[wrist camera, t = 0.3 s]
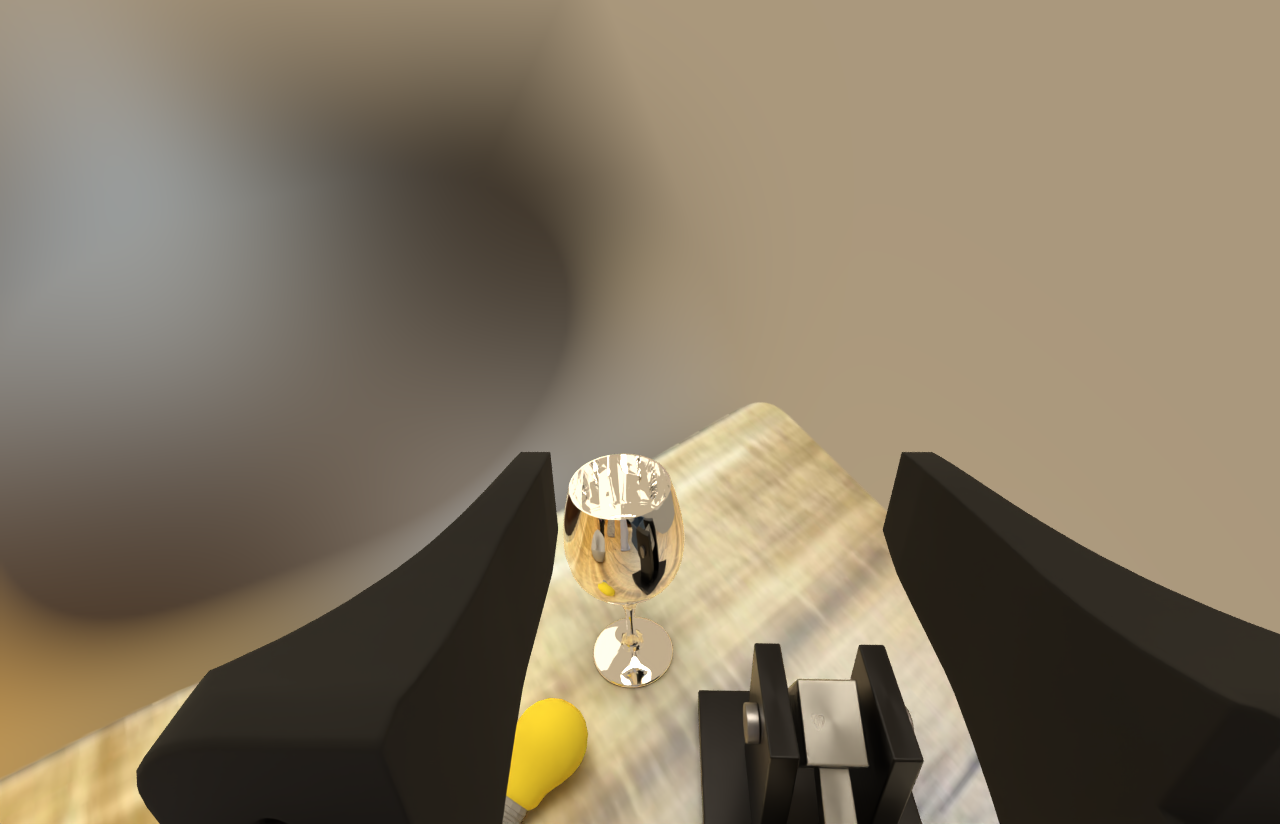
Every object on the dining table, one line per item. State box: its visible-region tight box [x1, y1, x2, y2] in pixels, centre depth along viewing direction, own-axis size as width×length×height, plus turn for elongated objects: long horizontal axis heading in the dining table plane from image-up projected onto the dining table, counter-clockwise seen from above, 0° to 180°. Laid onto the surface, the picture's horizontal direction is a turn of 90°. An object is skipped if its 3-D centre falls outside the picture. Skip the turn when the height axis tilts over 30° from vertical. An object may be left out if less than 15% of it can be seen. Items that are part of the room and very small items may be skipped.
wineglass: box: [563, 454, 684, 688], centre depth 30 cm, size 6×6×12 cm
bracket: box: [698, 643, 924, 824], centre depth 24 cm, size 10×9×9 cm
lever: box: [788, 679, 870, 824], centre depth 21 cm, size 8×3×3 cm, turn 178°
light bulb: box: [502, 698, 588, 824], centre depth 27 cm, size 3×6×4 cm, turn 149°
